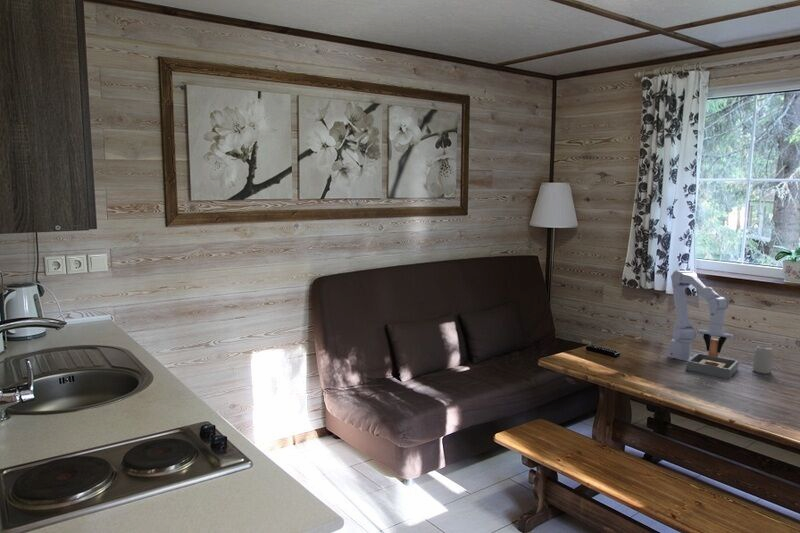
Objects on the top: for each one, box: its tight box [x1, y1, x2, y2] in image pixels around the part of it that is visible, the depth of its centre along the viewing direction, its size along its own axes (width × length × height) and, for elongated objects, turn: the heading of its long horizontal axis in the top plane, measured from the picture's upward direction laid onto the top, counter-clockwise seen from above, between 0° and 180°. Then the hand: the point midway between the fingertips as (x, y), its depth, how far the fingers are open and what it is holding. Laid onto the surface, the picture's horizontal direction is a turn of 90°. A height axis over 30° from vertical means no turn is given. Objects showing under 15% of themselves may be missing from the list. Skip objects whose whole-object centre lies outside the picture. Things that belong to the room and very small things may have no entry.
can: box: [752, 345, 774, 375], centre depth 277 cm, size 8×8×12 cm
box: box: [686, 352, 740, 380], centre depth 278 cm, size 18×18×4 cm
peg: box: [707, 338, 719, 358], centre depth 276 cm, size 4×4×8 cm
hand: (713, 351), depth 276 cm, fingers closed on peg, 4 cm apart
